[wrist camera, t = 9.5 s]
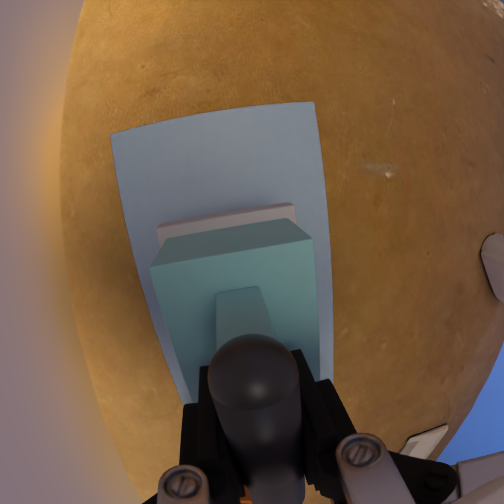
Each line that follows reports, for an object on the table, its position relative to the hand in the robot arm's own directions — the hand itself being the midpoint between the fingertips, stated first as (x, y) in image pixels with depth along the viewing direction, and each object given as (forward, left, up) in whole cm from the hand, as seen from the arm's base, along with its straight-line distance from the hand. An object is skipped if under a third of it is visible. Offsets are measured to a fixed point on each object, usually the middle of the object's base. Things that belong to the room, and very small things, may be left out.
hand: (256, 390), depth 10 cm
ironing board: (0, -3, -15) cm, 16 cm away
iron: (0, 0, -5) cm, 5 cm away
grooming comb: (+25, -45, -15) cm, 54 cm away
